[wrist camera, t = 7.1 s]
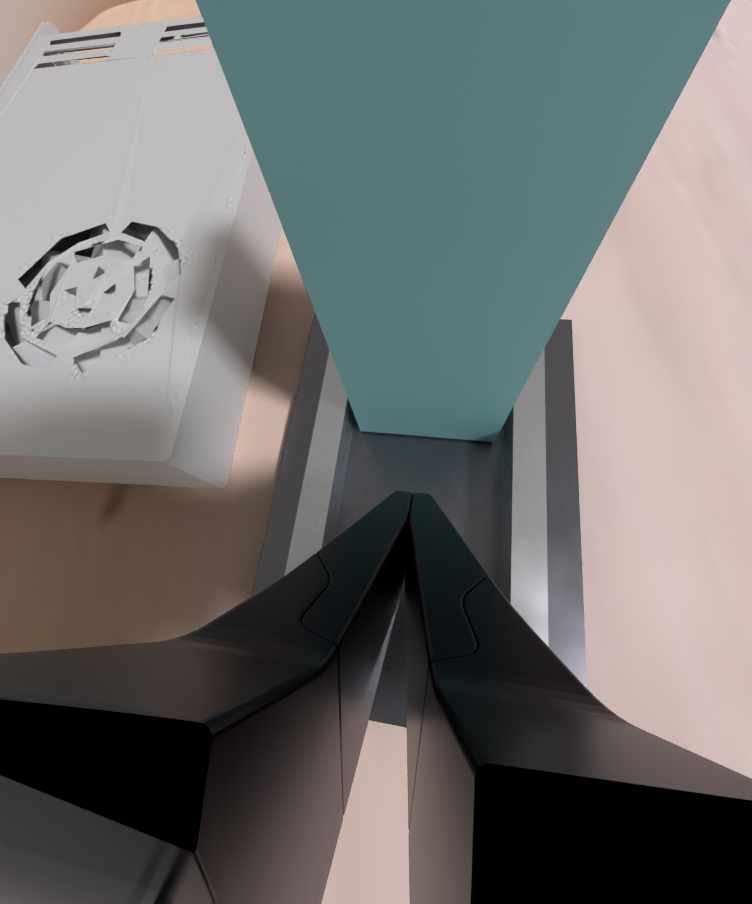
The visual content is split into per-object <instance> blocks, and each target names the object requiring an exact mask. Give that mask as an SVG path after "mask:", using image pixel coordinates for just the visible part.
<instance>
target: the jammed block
mask: <svg viewBox="0 0 752 904" xmlns="http://www.w3.org/2000/svg"><path fill="white" fill-rule="evenodd" d="M730 1H731V0H196V2H197V5H198V7H199V10H200V12H201V15H202V18H203V20H204V23H205V26H206V28H207V31H208V33H209V36H210V39H211V41H212V44H213V46H214V49H215V52H216V54H217V57H218V60H219V62H220V65H221V67H222V70H223V73H224V75H225V78H226V81H227V83H228V86H229V88H230V91H231V94H232V96H233V99H234V101H235V104H236V107H237V109H238V112H239V115H240V117H241V120H242V122H243V125H244V128H245V130H246V133H247V136H248V138H249V141H250V143H251V146H252V149H253V151H254V154H255V156H256V159H257V162H258V164H259V167H260V170H261V172H262V175H263V177H264V180H265V183H266V185H267V188H268V190H269V193H270V196H271V198H272V201H273V204H274V206H275V209H276V211H277V214H278V217H279V219H280V222H281V225H282V227H283V230H284V232H285V235H286V238H287V240H288V243H289V245H290V248H291V251H292V253H293V256H294V259H295V261H296V264H297V266H298V269H299V272H300V274H301V277H302V280H303V282H304V285H305V287H306V290H307V293H308V295H309V298H310V300H311V303H312V306H313V308H314V311H315V314H316V316H317V319H318V321H319V324H320V327H321V329H322V332H323V334H324V337H325V340H326V342H327V345H328V348H329V350H330V353H331V355H332V358H333V361H334V363H335V366H336V369H337V371H338V374H339V376H340V379H341V382H342V384H343V387H344V389H345V392H346V395H347V397H348V400H349V403H350V405H351V408H352V410H353V413H354V416H355V418H356V421H357V424H358V426H359V429H360V431H366V432H378V433H390V434H402V435H415V436H427V437H439V438H451V439H463V440H475V441H487V442H494V441H495V440H496V438H497V436H498V434H499V432H500V430H501V428H502V426H503V425H504V423H505V421H506V419H507V417H508V415H509V413H510V412H511V410H512V408H513V406H514V404H515V402H516V400H517V398H518V397H519V395H520V393H521V391H522V389H523V387H524V385H525V384H526V382H527V380H528V378H529V376H530V374H531V372H532V370H533V369H534V367H535V365H536V363H537V361H538V359H539V357H540V356H541V354H542V352H543V350H544V348H545V346H546V344H547V342H548V341H549V339H550V337H551V335H552V333H553V331H554V329H555V328H556V326H557V324H558V322H559V320H560V318H561V316H562V314H563V313H564V311H565V309H566V307H567V305H568V303H569V301H570V300H571V298H572V296H573V294H574V292H575V290H576V288H577V286H578V285H579V283H580V281H581V279H582V277H583V275H584V273H585V271H586V270H587V268H588V266H589V264H590V262H591V260H592V258H593V257H594V255H595V253H596V251H597V249H598V247H599V245H600V243H601V242H602V240H603V238H604V236H605V234H606V232H607V230H608V229H609V227H610V225H611V223H612V221H613V219H614V217H615V215H616V214H617V212H618V210H619V208H620V206H621V204H622V202H623V201H624V199H625V197H626V195H627V193H628V191H629V189H630V187H631V186H632V184H633V182H634V180H635V178H636V176H637V174H638V173H639V171H640V169H641V167H642V165H643V163H644V161H645V159H646V158H647V156H648V154H649V152H650V150H651V148H652V146H653V144H654V143H655V141H656V139H657V137H658V135H659V133H660V131H661V130H662V128H663V126H664V124H665V122H666V120H667V118H668V116H669V115H670V113H671V111H672V109H673V107H674V105H675V103H676V102H677V100H678V98H679V96H680V94H681V92H682V90H683V88H684V87H685V85H686V83H687V81H688V79H689V77H690V75H691V74H692V72H693V70H694V68H695V66H696V64H697V62H698V60H699V59H700V57H701V55H702V53H703V51H704V49H705V47H706V46H707V44H708V42H709V40H710V38H711V36H712V34H713V32H714V31H715V29H716V27H717V25H718V23H719V21H720V19H721V18H722V16H723V14H724V12H725V10H726V8H727V6H728V4H729V3H730Z"/></svg>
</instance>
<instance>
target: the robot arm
mask: <svg viewBox="0 0 752 904" xmlns="http://www.w3.org/2000/svg"><path fill="white" fill-rule="evenodd" d="M404 578H405V583H404ZM403 584H404V603H405V659H406V714H407V770H408V825H409V884H410V904H752V779H751V778H749V777H747V776H744V775H742V774H740V773H738V772H735V771H733V770H731V769H729V768H726V767H724V766H722V765H720V764H718V763H715V762H713V761H711V760H709V759H706V758H704V757H702V756H700V755H698V754H695V753H693V752H691V751H689V750H686V749H684V748H682V747H680V746H678V745H675V744H673V743H671V742H669V741H666V740H664V739H662V738H660V737H658V736H655V735H653V734H651V733H649V732H646V731H644V730H642V729H640V728H638V727H636V726H634V725H632V724H630V723H628V722H627V721H625V720H623V719H622V718H620V717H619V716H617V715H616V714H615V713H613V712H612V711H611V710H609V709H608V708H607V707H606V706H605V705H603V704H602V703H601V702H600V701H599V700H598V699H597V698H596V697H595V696H594V695H593V694H592V693H591V692H590V691H589V690H588V689H587V688H586V687H585V686H584V685H583V684H582V683H581V682H580V681H579V679H578V678H577V677H576V676H575V675H574V674H573V673H572V672H571V671H570V670H569V669H568V667H567V666H566V665H565V664H564V663H563V662H562V661H561V660H560V659H559V658H558V657H557V655H556V654H555V653H554V652H553V651H552V650H551V649H550V648H549V647H548V646H547V645H546V643H545V642H544V641H543V640H542V639H541V638H540V637H539V636H538V635H537V634H536V633H535V631H534V630H533V629H532V628H531V627H530V626H529V625H528V623H527V622H526V621H525V620H524V619H523V618H522V617H521V615H520V614H519V613H518V612H517V611H516V610H515V609H514V607H513V606H512V605H511V604H510V602H509V601H508V600H507V598H506V597H505V596H504V594H503V593H502V592H501V591H500V589H499V588H498V587H497V585H496V584H495V582H494V581H493V580H492V578H491V577H489V574H488V573H487V572H486V570H485V569H484V567H483V566H482V565H481V563H480V562H479V560H478V559H477V558H476V556H475V555H474V554H473V552H472V551H471V549H470V548H469V547H468V545H467V544H466V542H465V541H464V540H463V538H462V537H461V536H460V534H459V533H458V531H457V530H456V529H455V527H454V526H453V524H452V523H451V522H450V520H449V519H448V518H447V516H446V515H445V513H444V512H443V511H442V509H441V508H440V506H439V505H438V504H437V502H436V501H435V500H434V498H433V497H432V495H431V494H428V493H418V492H415V493H414V494H412V493H411V492H408V491H399V490H397V491H395V492H393V493H392V494H391V495H389V496H388V497H387V498H386V499H384V500H383V501H382V502H380V503H379V504H378V505H377V506H375V507H374V508H373V509H371V510H370V511H369V512H368V513H366V514H365V515H364V516H362V517H361V518H360V519H359V520H357V521H356V522H355V523H353V524H352V525H351V526H350V527H348V528H347V529H346V530H344V531H343V532H342V533H341V534H339V535H338V536H337V537H335V538H334V539H333V540H332V541H330V542H329V543H328V544H326V545H325V546H324V547H322V548H321V549H320V550H319V551H317V553H316V554H313V555H312V556H311V557H309V558H308V559H307V560H306V561H304V562H303V563H302V564H300V565H299V566H297V567H296V568H295V569H293V570H292V571H291V572H289V573H288V574H286V575H285V576H283V577H282V578H280V579H279V580H277V581H276V582H274V583H273V584H271V585H270V586H268V587H267V588H265V589H263V590H262V591H260V592H259V593H257V594H255V595H254V596H252V597H250V598H249V599H247V600H246V601H244V602H242V603H241V604H239V605H237V606H236V607H234V608H233V609H231V610H229V611H228V612H226V613H224V614H223V615H221V616H220V617H218V618H216V619H215V620H213V621H212V622H210V623H208V624H207V625H205V626H203V627H201V628H199V629H198V630H196V631H193V632H191V633H189V634H187V635H184V636H181V637H178V638H175V639H171V640H167V641H161V642H152V643H140V644H127V645H115V646H102V647H90V648H77V649H65V650H52V651H40V652H27V653H6V654H0V904H321V902H322V898H323V894H324V891H325V887H326V883H327V879H328V875H329V871H330V867H331V864H332V860H333V856H334V852H335V848H336V844H337V840H338V836H339V833H340V829H341V825H342V821H343V815H344V813H345V809H346V805H347V801H348V798H349V794H350V790H351V786H352V782H353V778H354V774H355V770H356V767H357V763H358V759H359V755H360V751H361V747H362V743H363V740H364V736H365V732H366V728H367V724H368V720H369V716H370V713H371V709H372V705H373V701H374V697H375V693H376V689H377V686H378V682H379V678H380V674H381V670H382V666H383V662H384V658H385V655H386V651H387V647H388V643H389V639H390V635H391V631H392V628H393V624H394V620H395V616H396V612H397V608H398V604H399V601H400V597H401V593H402V588H403Z"/></svg>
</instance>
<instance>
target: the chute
mask: <svg viewBox="0 0 752 904" xmlns="http://www.w3.org/2000/svg"><path fill="white" fill-rule="evenodd" d="M397 490H399V491H408V492H411V493H412V494H414V493H415V492H418V493H428V494H431V495H432V497H433V498H434V500H435V501H436V502H437V504H438V505H439V506H440V508H441V509H442V511H443V512H444V513H445V515H446V516H447V518H448V519H449V520H450V522H451V523H452V524H453V526H454V527H455V529H456V530H457V531H458V533H459V534H460V536H461V537H462V538H463V540H464V541H465V542H466V544H467V545H468V547H469V548H470V549H471V551H472V552H473V554H474V555H475V556H476V558H477V559H478V560H479V562H480V563H481V565H482V566H483V567H484V569H485V570H486V572H487V573H488V574H489V577H491V578H492V580H493V581H494V582H495V584H496V585H497V587H498V588H499V589H500V591H501V592H502V593H503V594H504V596H505V597H506V598H507V600H508V601H509V602H510V604H511V605H512V606H513V607H514V609H515V610H516V611H517V612H518V613H519V614H520V615H521V617H522V618H523V619H524V620H525V621H526V622H527V623H528V625H529V626H530V627H531V628H532V629H533V630H534V631H535V633H536V634H537V635H538V636H539V637H540V638H541V639H542V640H543V641H544V642H545V643H546V645H547V646H548V647H549V648H550V649H551V650H552V651H553V652H554V653H555V654H556V655H557V657H558V658H559V659H560V660H561V661H562V662H563V663H564V664H565V665H566V666H567V667H568V669H569V670H570V671H571V672H572V673H573V674H574V675H575V676H576V677H577V678H578V679H579V681H580V682H581V683H582V684H583V685H584V686H585V687H586V688H587V676H586V652H585V628H584V604H583V580H582V557H581V533H580V509H579V485H578V461H577V438H576V414H575V390H574V366H573V342H572V320H561V319H560V320H559V322H558V324H557V326H556V328H555V329H554V331H553V333H552V335H551V337H550V339H549V341H548V342H547V344H546V346H545V348H544V350H543V352H542V354H541V356H540V357H539V359H538V361H537V363H536V365H535V367H534V369H533V370H532V372H531V374H530V376H529V378H528V380H527V382H526V384H525V385H524V387H523V389H522V391H521V393H520V395H519V397H518V398H517V400H516V402H515V404H514V406H513V408H512V410H511V412H510V413H509V415H508V417H507V419H506V421H505V423H504V425H503V426H502V428H501V430H500V432H499V434H498V436H497V438H496V440H495V441H494V442H487V441H475V440H463V439H451V438H439V437H427V436H415V435H402V434H390V433H378V432H366V431H360V429H359V426H358V424H357V421H356V418H355V416H354V413H353V410H352V408H351V405H350V403H349V400H348V397H347V395H346V392H345V389H344V387H343V384H342V382H341V379H340V376H339V374H338V371H337V369H336V366H335V363H334V361H333V358H332V355H331V353H330V350H329V348H328V345H327V342H326V340H325V337H324V334H323V332H322V329H321V327H320V324H319V321H318V319H317V316H316V314H315V315H314V320H313V324H312V329H311V333H310V338H309V342H308V347H307V351H306V356H305V360H304V365H303V369H302V374H301V378H300V383H299V387H298V392H297V396H296V401H295V405H294V410H293V414H292V419H291V423H290V428H289V432H288V437H287V441H286V446H285V450H284V455H283V459H282V464H281V468H280V473H279V477H278V482H277V486H276V491H275V495H274V500H273V504H272V509H271V513H270V518H269V522H268V527H267V531H266V536H265V540H264V544H263V549H262V553H261V558H260V562H259V567H258V571H257V576H256V580H255V585H254V589H253V594H252V596H254V595H255V594H257V593H259V592H260V591H262V590H263V589H265V588H267V587H268V586H270V585H271V584H273V583H274V582H276V581H277V580H279V579H280V578H282V577H283V576H285V575H286V574H288V573H289V572H291V571H292V570H293V569H295V568H296V567H297V566H299V565H300V564H302V563H303V562H304V561H306V560H307V559H308V558H309V557H311V556H312V555H313V554H316V553H317V551H319V550H320V549H321V548H322V547H324V546H325V545H326V544H328V543H329V542H330V541H332V540H333V539H334V538H335V537H337V536H338V535H339V534H341V533H342V532H343V531H344V530H346V529H347V528H348V527H350V526H351V525H352V524H353V523H355V522H356V521H357V520H359V519H360V518H361V517H362V516H364V515H365V514H366V513H368V512H369V511H370V510H371V509H373V508H374V507H375V506H377V505H378V504H379V503H380V502H382V501H383V500H384V499H386V498H387V497H388V496H389V495H391V494H392V493H393V492H395V491H397ZM404 583H405V578H404ZM369 720H372V721H377V722H382V723H387V724H392V725H397V726H402V727H407V714H406V659H405V603H404V584H403V588H402V593H401V597H400V601H399V604H398V608H397V612H396V616H395V620H394V624H393V628H392V631H391V635H390V639H389V643H388V647H387V651H386V655H385V658H384V662H383V666H382V670H381V674H380V678H379V682H378V686H377V689H376V693H375V697H374V701H373V705H372V709H371V713H370V716H369Z"/></svg>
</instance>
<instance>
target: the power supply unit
mask: <svg viewBox="0 0 752 904" xmlns="http://www.w3.org/2000/svg"><path fill="white" fill-rule="evenodd" d="M204 36H209V33H208V31H207V28H206V26H205V23H204V20H203V18H202V16H201V17H193V18H185V19H177V20H168V21H160V22H152V23H144V24H135V25H127V26H119V27H111V28H102V29H94V30H86V31H77V32H70V33H61V34H60V32H59V31H58V29H57V28H56V26H55V25H54V23H52V22H42V23H41V25H40V27H39V28H38V30H37V31H36V33H35V34H34V36H33V37H32V39H31V40H30V42H29V44H28V45H27V47H26V48H25V50H24V51H23V53H22V55H21V56H20V58H19V59H18V61H17V62H16V64H15V66H14V67H13V69H12V70H11V72H10V73H9V75H8V76H7V78H6V80H5V81H4V83H3V84H2V86H1V88H0V478H16V479H36V480H56V481H76V482H96V483H117V484H137V485H157V486H177V487H197V488H217V489H223V488H224V487H225V486H227V485H228V480H229V475H230V471H231V466H232V461H233V456H234V452H235V447H236V442H237V437H238V433H239V428H240V423H241V418H242V414H243V409H244V404H245V399H246V395H247V390H248V385H249V380H250V376H251V371H252V366H253V361H254V356H255V352H256V347H257V342H258V337H259V333H260V328H261V323H262V318H263V314H264V309H265V304H266V299H267V294H268V290H269V285H270V280H271V275H272V271H273V266H274V261H275V256H276V252H277V247H278V242H279V237H280V232H281V228H282V225H281V222H280V219H279V217H278V214H277V211H276V209H275V206H274V204H273V201H272V198H271V196H270V193H269V190H268V188H267V185H266V183H265V180H264V177H263V175H262V172H261V170H260V167H259V164H258V162H257V159H256V156H255V154H254V151H253V149H252V146H251V143H250V141H249V138H248V136H247V133H246V130H245V128H244V125H243V122H242V120H241V117H240V115H239V112H238V109H237V107H236V104H235V101H234V99H233V96H232V94H231V91H230V88H229V86H228V83H227V81H226V78H225V75H224V73H223V70H222V67H221V65H220V62H219V60H218V57H217V54H216V52H215V49H210V50H200V51H190V52H181V53H171V54H161V55H153V54H154V53H155V52H156V51H158V50H167V49H176V48H184V47H193V46H202V45H210V44H212V41H211V39H210V37H204ZM196 37H204V38H196ZM187 38H196V39H187ZM178 39H187V40H178ZM169 40H177V41H169ZM161 41H164V42H161ZM108 47H113V49H111V50H101V51H91V52H81V53H73V51H82V50H91V49H100V48H108ZM59 54H60V55H59ZM101 57H108V58H107V60H106V61H98V62H89V63H81V64H80V63H79V61H78V60H80V59H91V58H101ZM64 61H65V62H64ZM53 62H54V64H55V65H56V66H55V65H54V64H53ZM66 64H67V65H66Z"/></svg>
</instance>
